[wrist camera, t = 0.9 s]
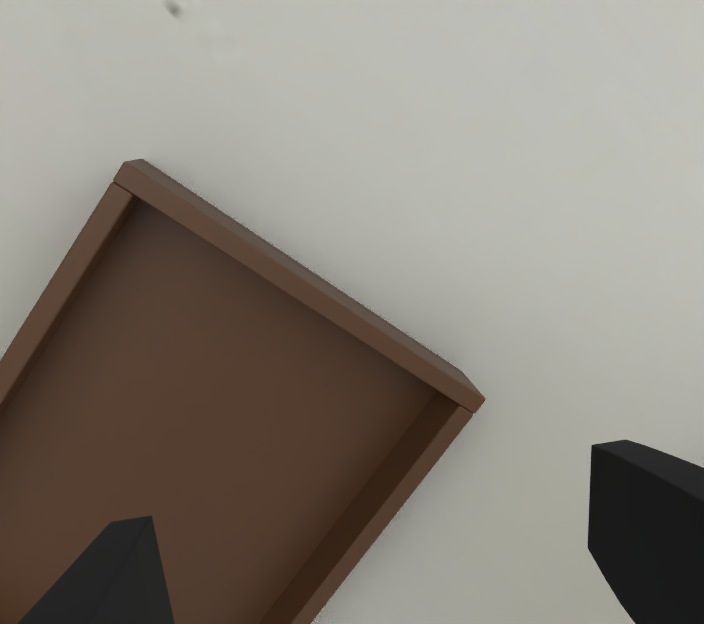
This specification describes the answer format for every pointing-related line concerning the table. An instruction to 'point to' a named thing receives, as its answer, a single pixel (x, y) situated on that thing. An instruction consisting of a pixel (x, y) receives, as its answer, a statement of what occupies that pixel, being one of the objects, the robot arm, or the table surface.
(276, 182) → the table surface
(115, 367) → the tray
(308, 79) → the table surface
